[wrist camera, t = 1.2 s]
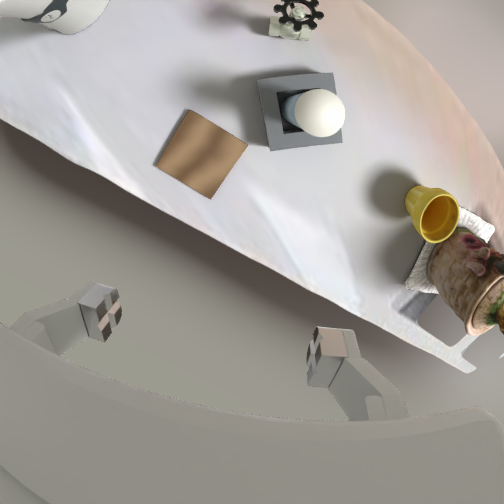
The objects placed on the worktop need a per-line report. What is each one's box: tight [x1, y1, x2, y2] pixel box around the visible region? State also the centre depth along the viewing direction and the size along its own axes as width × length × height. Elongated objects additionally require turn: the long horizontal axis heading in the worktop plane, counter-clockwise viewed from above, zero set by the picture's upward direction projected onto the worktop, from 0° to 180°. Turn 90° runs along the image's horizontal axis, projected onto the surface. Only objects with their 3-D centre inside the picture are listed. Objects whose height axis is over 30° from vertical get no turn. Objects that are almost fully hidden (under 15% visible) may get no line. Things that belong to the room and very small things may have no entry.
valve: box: [269, 0, 324, 41], centre depth 29 cm, size 7×7×12 cm
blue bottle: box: [282, 89, 345, 137], centre depth 35 cm, size 6×6×17 cm
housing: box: [257, 73, 343, 151], centre depth 40 cm, size 12×12×4 cm
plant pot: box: [405, 186, 460, 243], centre depth 46 cm, size 10×10×10 cm
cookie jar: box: [404, 206, 504, 336], centre depth 43 cm, size 25×25×32 cm
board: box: [156, 110, 248, 199], centre depth 46 cm, size 12×12×1 cm
